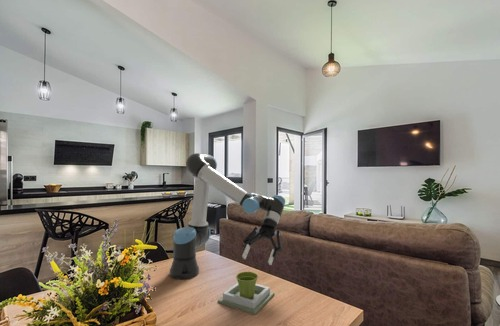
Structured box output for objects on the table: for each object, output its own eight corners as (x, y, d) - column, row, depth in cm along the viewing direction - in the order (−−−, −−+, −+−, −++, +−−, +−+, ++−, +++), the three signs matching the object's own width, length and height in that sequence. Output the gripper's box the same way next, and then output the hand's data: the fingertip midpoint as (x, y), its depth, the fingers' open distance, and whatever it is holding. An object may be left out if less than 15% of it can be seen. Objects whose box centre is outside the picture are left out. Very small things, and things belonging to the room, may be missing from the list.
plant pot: (255, 302, 106) (256, 281, 106) (233, 300, 108) (233, 279, 108) (259, 291, 115) (259, 272, 116) (238, 290, 117) (238, 270, 117)
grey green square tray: (217, 302, 108) (217, 294, 108) (240, 285, 124) (240, 278, 124) (255, 314, 99) (255, 305, 99) (274, 294, 115) (274, 286, 115)
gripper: (295, 229, 127) (283, 270, 114) (252, 223, 140) (236, 259, 127) (292, 220, 123) (279, 262, 110) (247, 215, 135) (230, 251, 122)
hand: (256, 260), depth 118 cm, fingers open, 13 cm apart
